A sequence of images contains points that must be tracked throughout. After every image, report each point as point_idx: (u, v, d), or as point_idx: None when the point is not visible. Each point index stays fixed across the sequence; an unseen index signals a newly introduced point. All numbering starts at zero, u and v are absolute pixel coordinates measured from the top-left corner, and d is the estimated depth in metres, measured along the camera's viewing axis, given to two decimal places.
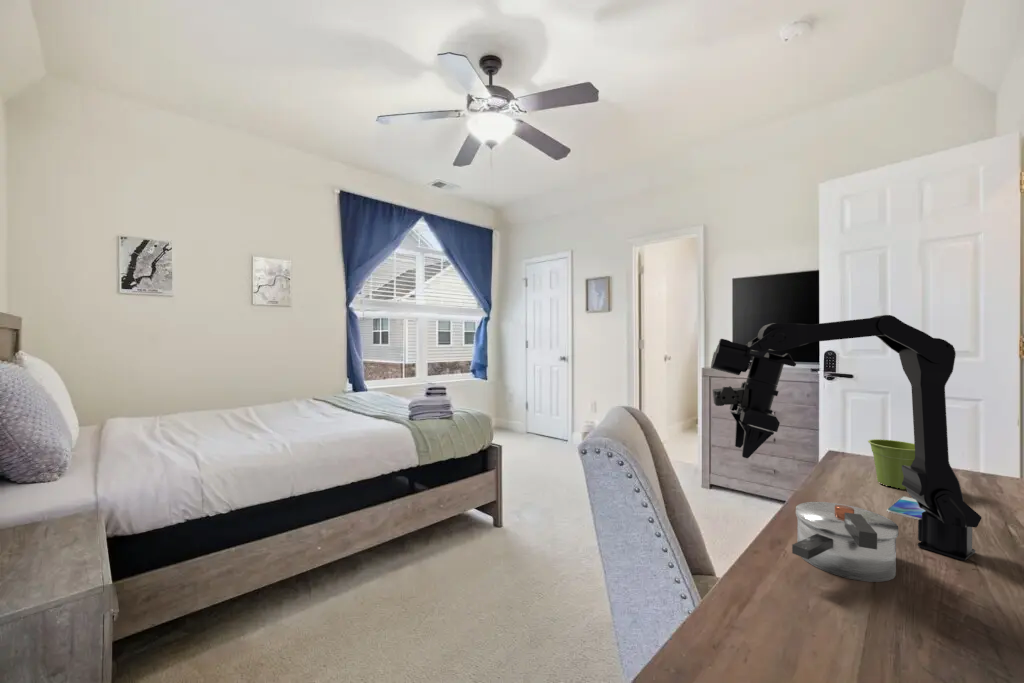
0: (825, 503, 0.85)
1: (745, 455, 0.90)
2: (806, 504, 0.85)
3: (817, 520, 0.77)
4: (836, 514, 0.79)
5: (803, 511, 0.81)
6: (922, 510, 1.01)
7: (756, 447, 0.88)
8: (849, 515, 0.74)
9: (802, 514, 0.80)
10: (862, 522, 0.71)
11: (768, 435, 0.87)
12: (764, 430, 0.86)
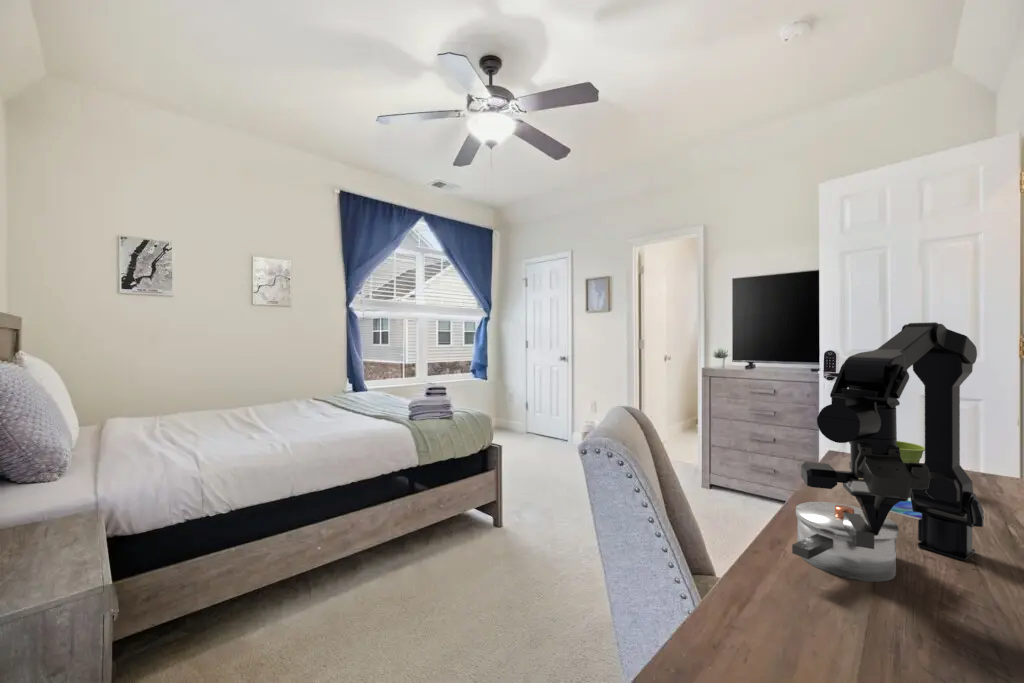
0: (826, 503, 0.85)
1: None
2: (807, 504, 0.85)
3: (816, 520, 0.77)
4: (836, 514, 0.79)
5: (803, 511, 0.81)
6: None
7: None
8: (848, 515, 0.74)
9: (801, 514, 0.80)
10: (860, 522, 0.71)
11: None
12: None
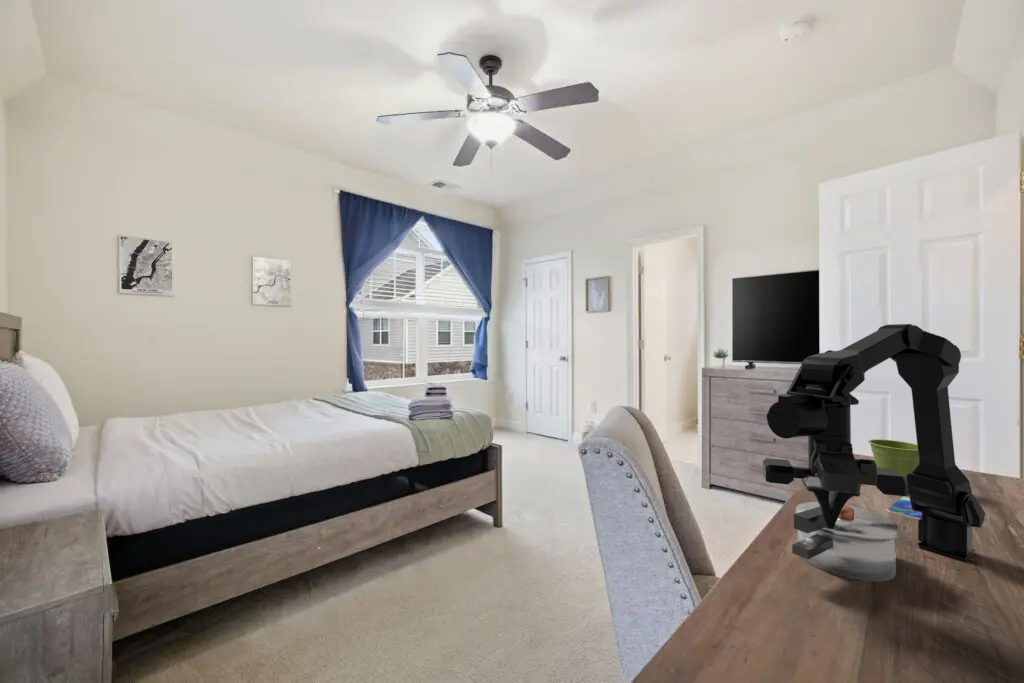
0: (853, 507, 0.83)
1: None
2: None
3: (802, 511, 0.81)
4: None
5: (807, 505, 0.84)
6: None
7: None
8: None
9: (798, 506, 0.84)
10: (817, 512, 0.75)
11: None
12: None
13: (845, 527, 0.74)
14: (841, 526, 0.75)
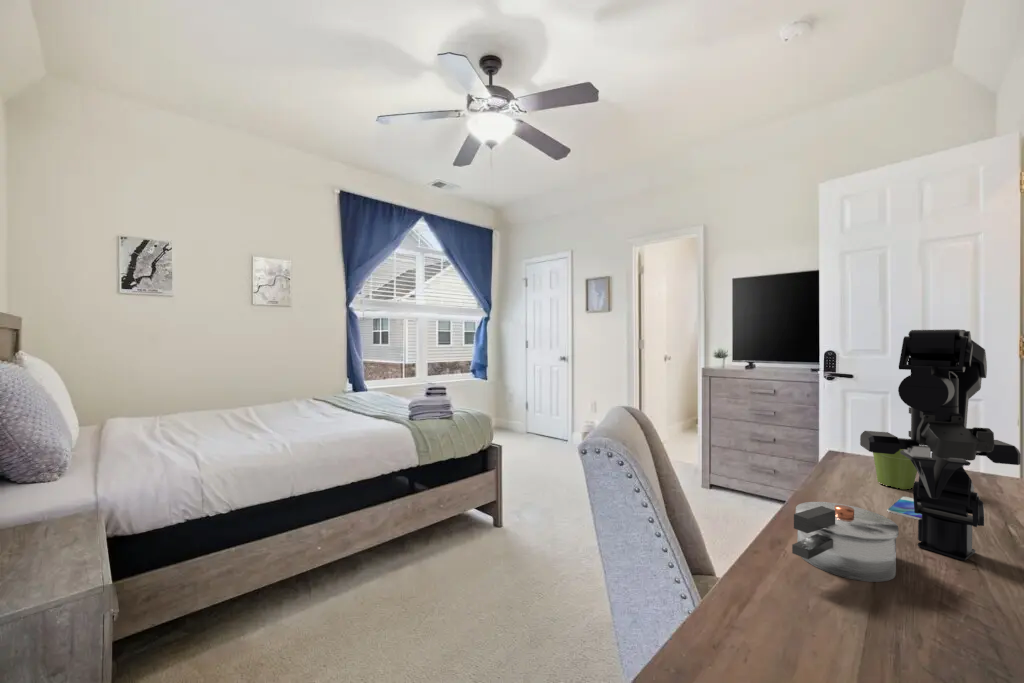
0: (853, 507, 0.83)
1: None
2: (827, 503, 0.85)
3: (802, 511, 0.81)
4: (834, 512, 0.80)
5: (807, 505, 0.84)
6: None
7: None
8: (820, 508, 0.77)
9: (798, 506, 0.84)
10: (817, 512, 0.75)
11: None
12: None
13: (845, 527, 0.74)
14: (841, 526, 0.75)
